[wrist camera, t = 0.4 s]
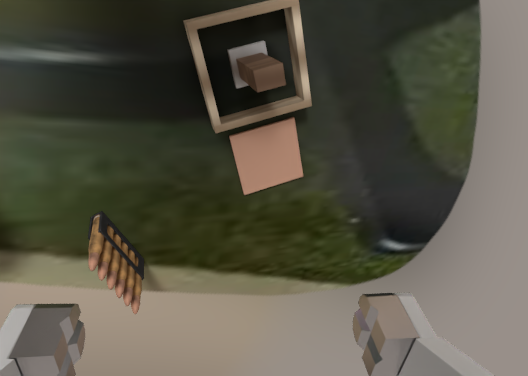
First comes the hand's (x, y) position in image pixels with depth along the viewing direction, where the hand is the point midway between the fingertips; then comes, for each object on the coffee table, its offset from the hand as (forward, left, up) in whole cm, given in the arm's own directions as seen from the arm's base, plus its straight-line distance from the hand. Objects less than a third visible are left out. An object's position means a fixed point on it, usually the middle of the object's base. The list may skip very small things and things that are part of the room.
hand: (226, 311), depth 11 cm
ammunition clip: (+23, -13, -43) cm, 51 cm away
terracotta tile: (+17, +12, -43) cm, 48 cm away
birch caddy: (+3, +12, -43) cm, 45 cm away
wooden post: (+3, +12, -43) cm, 45 cm away
